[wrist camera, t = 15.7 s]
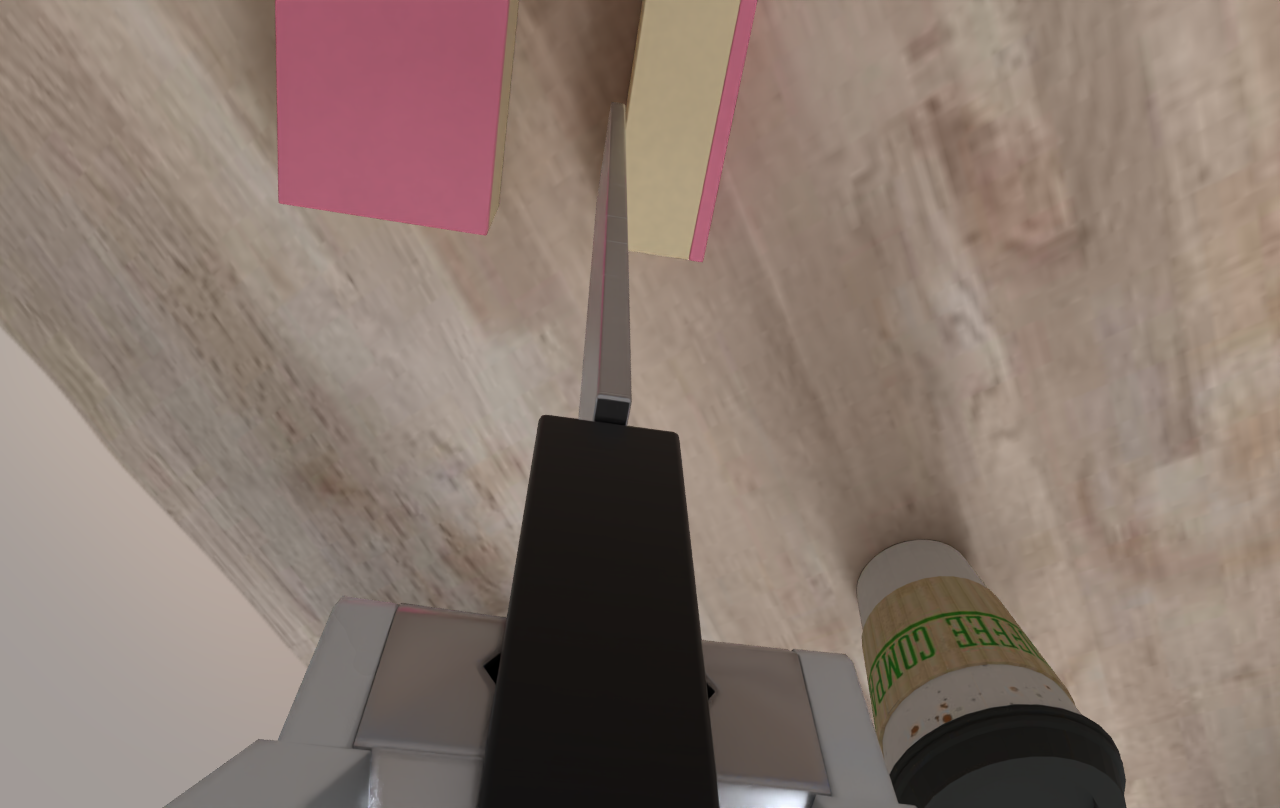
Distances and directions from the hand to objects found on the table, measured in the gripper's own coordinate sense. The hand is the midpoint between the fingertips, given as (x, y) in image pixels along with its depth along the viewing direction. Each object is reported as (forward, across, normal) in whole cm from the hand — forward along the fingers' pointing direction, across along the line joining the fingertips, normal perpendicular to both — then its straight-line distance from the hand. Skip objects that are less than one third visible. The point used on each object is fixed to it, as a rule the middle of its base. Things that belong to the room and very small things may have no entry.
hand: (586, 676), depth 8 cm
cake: (+33, +8, 0) cm, 34 cm away
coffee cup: (+33, -20, +23) cm, 45 cm away
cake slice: (+31, -1, 0) cm, 31 cm away
